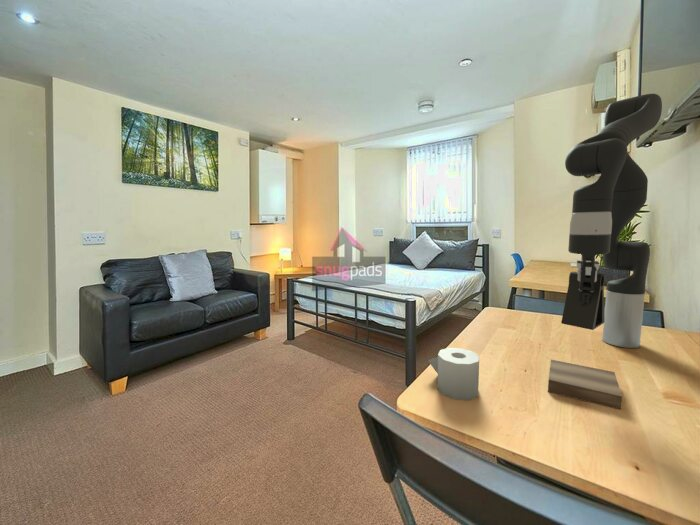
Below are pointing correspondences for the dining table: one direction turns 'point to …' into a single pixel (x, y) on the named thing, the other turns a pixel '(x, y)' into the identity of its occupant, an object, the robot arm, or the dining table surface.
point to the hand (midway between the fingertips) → (584, 305)
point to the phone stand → (587, 314)
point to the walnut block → (585, 384)
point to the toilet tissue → (457, 373)
